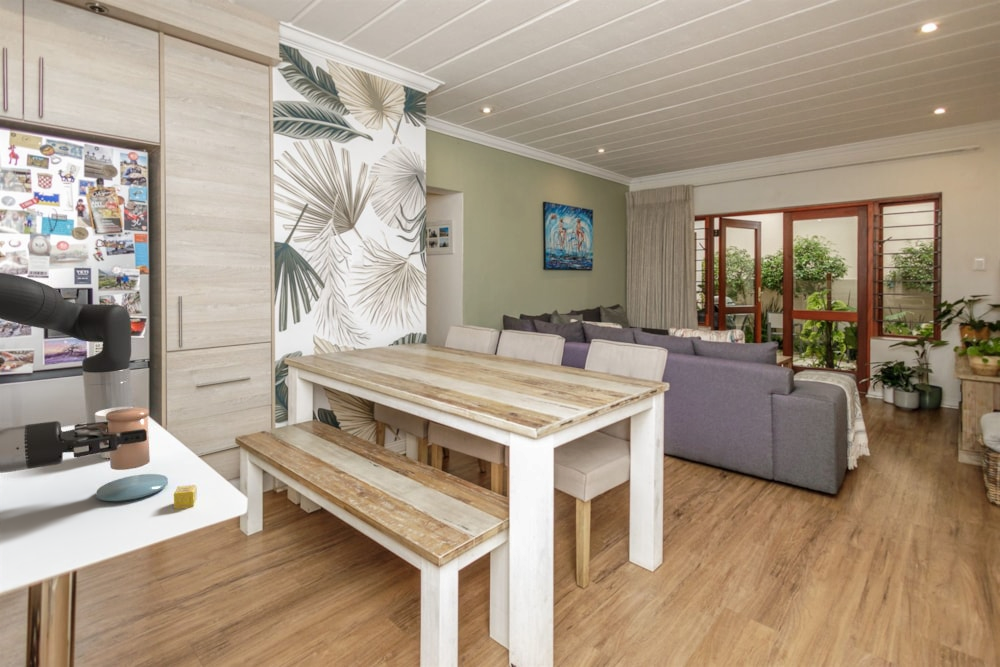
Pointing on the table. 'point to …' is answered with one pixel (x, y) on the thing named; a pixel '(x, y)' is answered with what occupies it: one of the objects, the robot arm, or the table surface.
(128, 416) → the dome-topped peach cylinder
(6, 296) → the robot arm
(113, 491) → the blue-grey round disc
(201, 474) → the table surface
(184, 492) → the alphabet block
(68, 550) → the table surface
